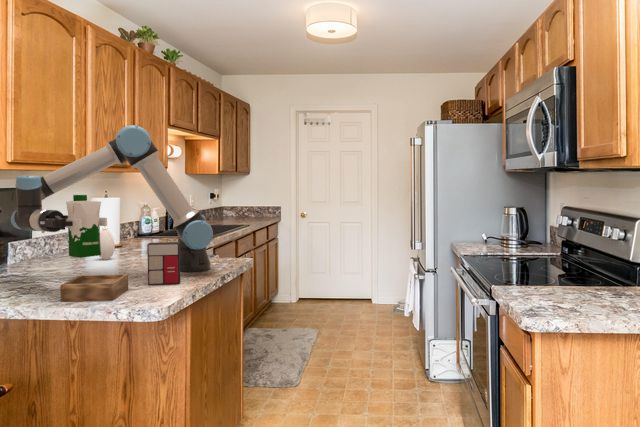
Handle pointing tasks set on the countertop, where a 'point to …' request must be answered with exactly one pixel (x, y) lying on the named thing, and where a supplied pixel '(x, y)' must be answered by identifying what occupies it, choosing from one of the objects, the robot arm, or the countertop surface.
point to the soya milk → (84, 227)
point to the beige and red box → (163, 263)
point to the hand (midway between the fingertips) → (93, 222)
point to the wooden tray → (94, 288)
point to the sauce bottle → (106, 244)
